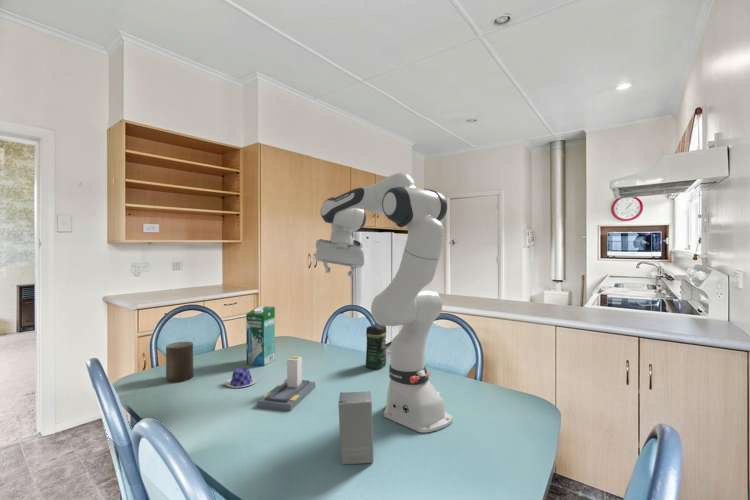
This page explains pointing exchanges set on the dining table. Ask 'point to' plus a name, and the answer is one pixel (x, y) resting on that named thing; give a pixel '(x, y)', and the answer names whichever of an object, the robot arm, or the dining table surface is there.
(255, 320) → the milk carton
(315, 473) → the dining table surface
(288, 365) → the white rectangular block
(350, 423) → the skincare box
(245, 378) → the pudding
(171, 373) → the pillar candle
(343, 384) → the dining table surface
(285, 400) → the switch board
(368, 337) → the coffee jar
